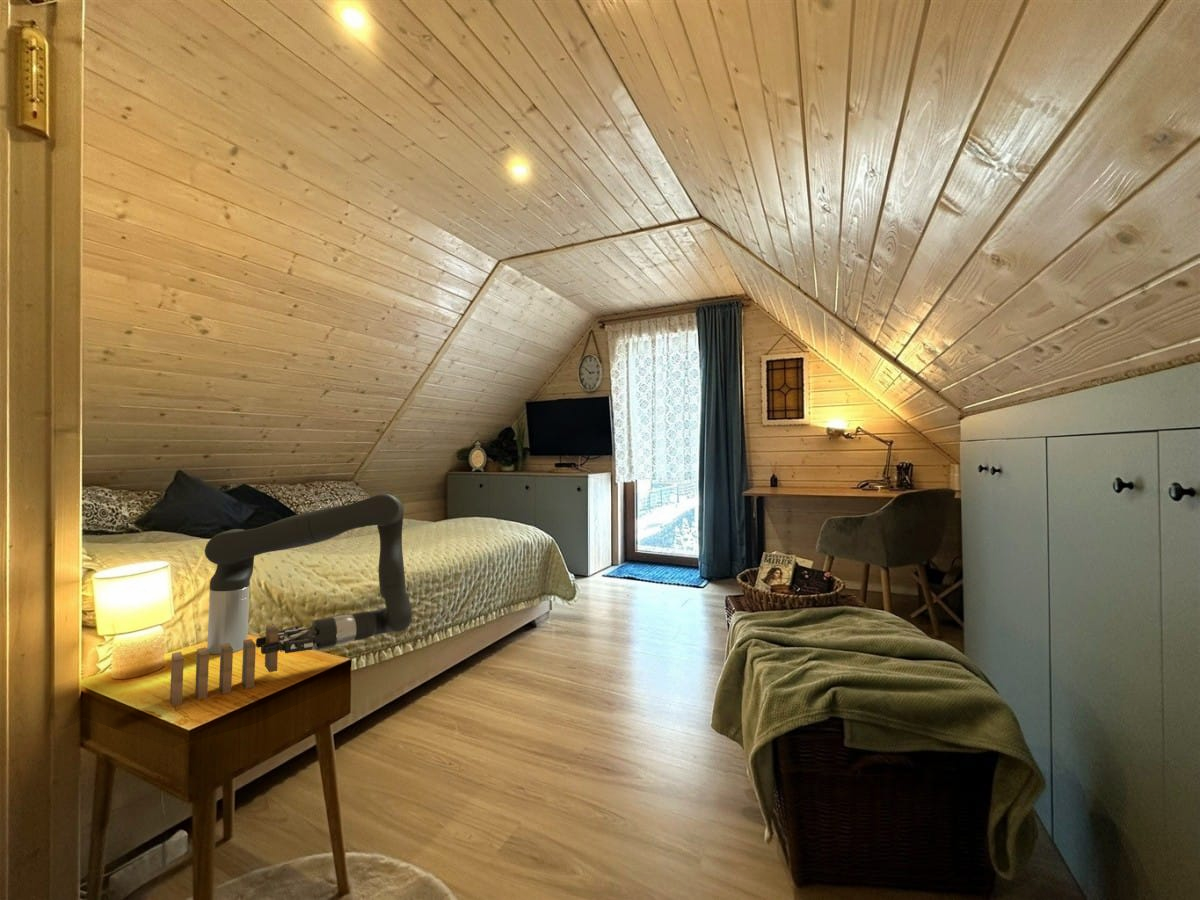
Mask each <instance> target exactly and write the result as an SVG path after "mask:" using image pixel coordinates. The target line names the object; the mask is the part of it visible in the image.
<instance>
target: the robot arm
mask: <svg viewBox="0 0 1200 900" xmlns="http://www.w3.org/2000/svg"><path fill="white" fill-rule="evenodd" d="M404 512H405V507H404V504H403V502H401V500H400V499H399V498H398V497H396V496H394V495H393V494H389V493H380V494H376V495H373V496H370V497H367V498H364V499H361V500H358V501H356V502H355V501H354V502H352V503H349V504H345V505H339V506H332V507H327V508H321V509H316V510H311V511H306V512H303V513H299V514H295V515H291V516H289V517H285V518H282V519H280V520H279V519H278V520H277V521H273V522H272V523H271V522H270V523H267V525H263V526H260V527H255V528H251V529H243V528H242V529H241V528H233V529H229V530H226V531H222V532H220V533H217V534H215V535H214V536H213V537H211V538H210V539H209V540H208V542H207V544H206V545H205V547H204V548H205V549H204V556H205V557H206V559H207V560H208V561H210V562H211V563H213V564H215V565H216V569H215V572H214V574H213V576H212V577H211V579H210V580H209V595H208V596H209V598H208V599H209V600H208V603H209V604H208V621H207V623H208V624H207V625H208V626H207V640H206V641H207V644H206V649H207V651H208V653H209V655H210V654H211V655H220V653H221V644H226V643H229V644H230V645H231V647H232V648H233V653H236V652H240V651H243V640H248V635H249V633H248V632H249V611H250V610H249V609H250V584H251V583H250V581H251V578H252V576H253V573H254V562H255V557H256V556H259V555H262V554H265V553H266V554H267V553H271V552H278V551H285V550H289V549H295V548H299V547H304V546H308V545H313V544H317V543H321V542H325V541H329V540H330V539H333V538H336V537H337V536H339V535H342V534H344V533H346V532H348V531H351V530H355V529H359V528H365V527H371V526H372V527H373V526H377V531H378V535H379V545H380V546H379V548H380V549H379V558H378V559H379V560H378V585H379V593H380V597H381V598H382V599H384V601H385V608H380V609H376V610H373V611H372V610H371V611H365V612H364V611H362V612H357V613H351V614H341V615H337V616H330V617H323V618H319V619H314V620H313V622H312V623H311V625H310V628H309V627H308V628H305V627H300V626H299V625H295V626H292V627H287V628H283V629H280V630H279V629H278V641H277V642H272V643H267V644H266V636H260V637H258V638H256V639H255V644H256V648H257V649H258V648H260V653H261V654H262V655H265V654H267V653H272V652H277V651H278V652H280V653H284V654H292V653H297V652H303V651H304V652H305V651H311V650H313V649H314V650H316V651H320V650H323V649H328V648H333V647H337V646H342V645H345V644H348V643H351V642H357V641H359V640H366V639H368V638H372V637H373V636H376V635H382V634H387V633H401V632H403V631H406V630H407V629H408V628H409V627H410V625H411V623H412V619H413V610H412V605H411V602H410V599H409V595H408V592H407V590H406V586H407V585H406V575H405V566H404V565H405V564H404V555H403V523H404V514H405V513H404Z"/></svg>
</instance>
